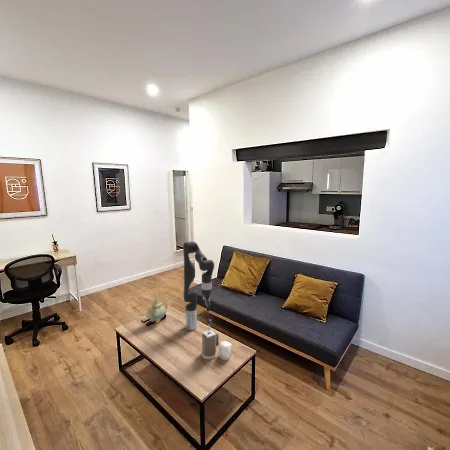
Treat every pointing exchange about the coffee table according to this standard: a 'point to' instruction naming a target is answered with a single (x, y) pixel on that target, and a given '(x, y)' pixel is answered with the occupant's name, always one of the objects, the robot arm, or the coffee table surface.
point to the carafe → (209, 344)
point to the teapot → (157, 309)
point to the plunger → (209, 321)
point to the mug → (225, 350)
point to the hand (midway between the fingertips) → (206, 308)
